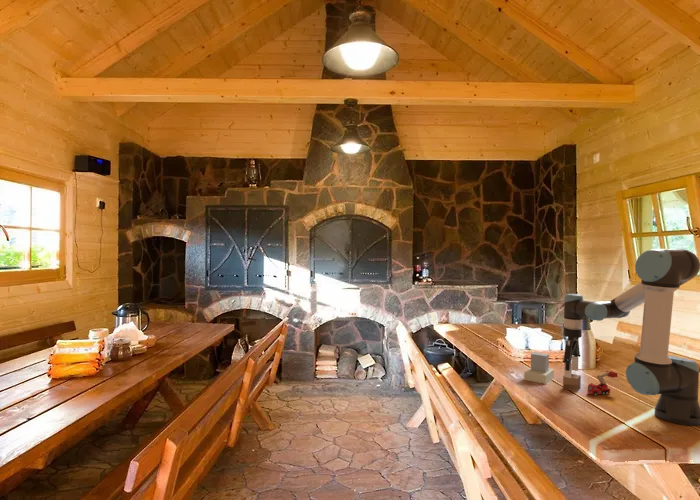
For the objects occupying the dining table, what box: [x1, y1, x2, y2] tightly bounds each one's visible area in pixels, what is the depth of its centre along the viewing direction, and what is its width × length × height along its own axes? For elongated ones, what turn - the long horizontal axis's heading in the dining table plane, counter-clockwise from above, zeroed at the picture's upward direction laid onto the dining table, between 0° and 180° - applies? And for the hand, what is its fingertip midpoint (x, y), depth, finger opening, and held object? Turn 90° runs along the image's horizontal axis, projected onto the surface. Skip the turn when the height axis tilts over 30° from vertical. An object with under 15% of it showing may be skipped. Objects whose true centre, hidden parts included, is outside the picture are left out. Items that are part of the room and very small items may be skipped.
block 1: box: [530, 351, 550, 373], centre depth 220 cm, size 5×7×8 cm
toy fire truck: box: [587, 370, 618, 396], centre depth 199 cm, size 3×14×10 cm, turn 105°
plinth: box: [523, 367, 555, 385], centre depth 220 cm, size 14×10×4 cm
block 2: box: [562, 373, 582, 392], centre depth 205 cm, size 6×6×6 cm
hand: (571, 373), depth 206 cm, fingers open, 13 cm apart
